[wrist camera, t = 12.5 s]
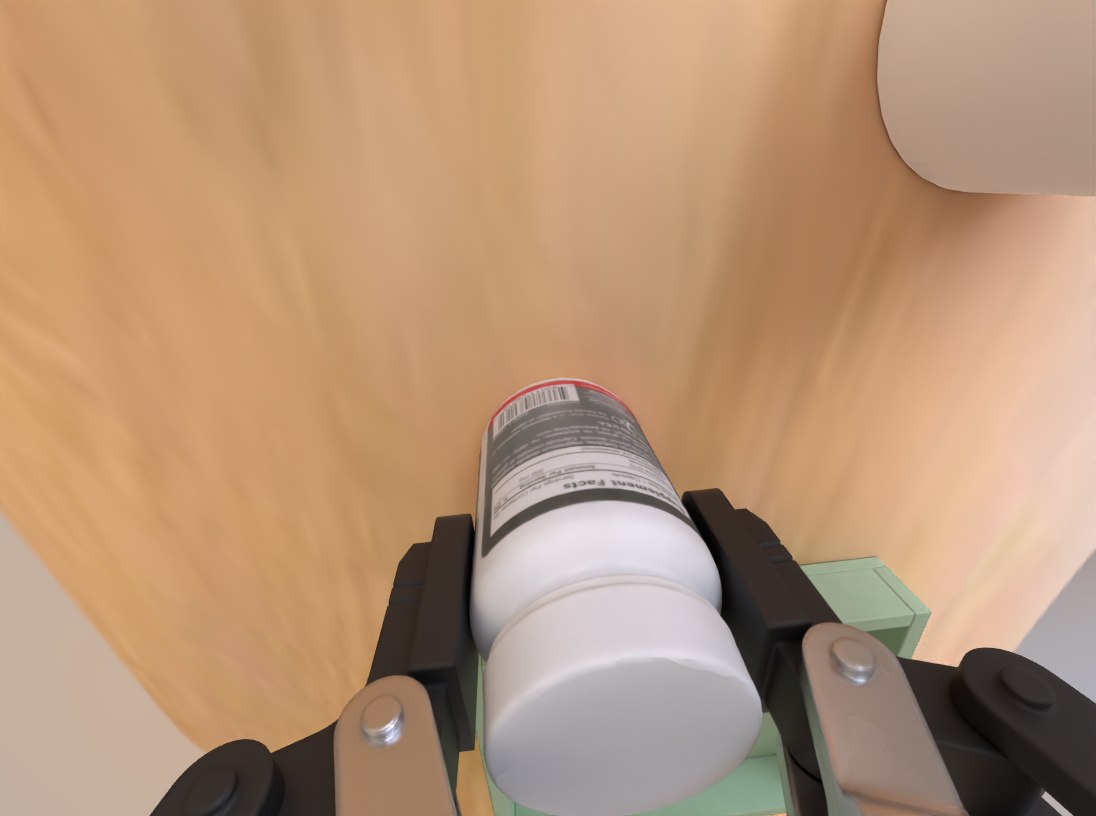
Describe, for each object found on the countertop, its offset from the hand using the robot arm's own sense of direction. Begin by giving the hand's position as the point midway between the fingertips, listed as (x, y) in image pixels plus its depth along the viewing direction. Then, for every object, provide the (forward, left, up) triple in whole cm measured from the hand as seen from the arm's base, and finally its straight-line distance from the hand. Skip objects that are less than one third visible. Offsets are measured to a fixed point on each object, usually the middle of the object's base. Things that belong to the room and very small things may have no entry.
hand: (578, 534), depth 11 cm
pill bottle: (0, 0, -4) cm, 4 cm away
